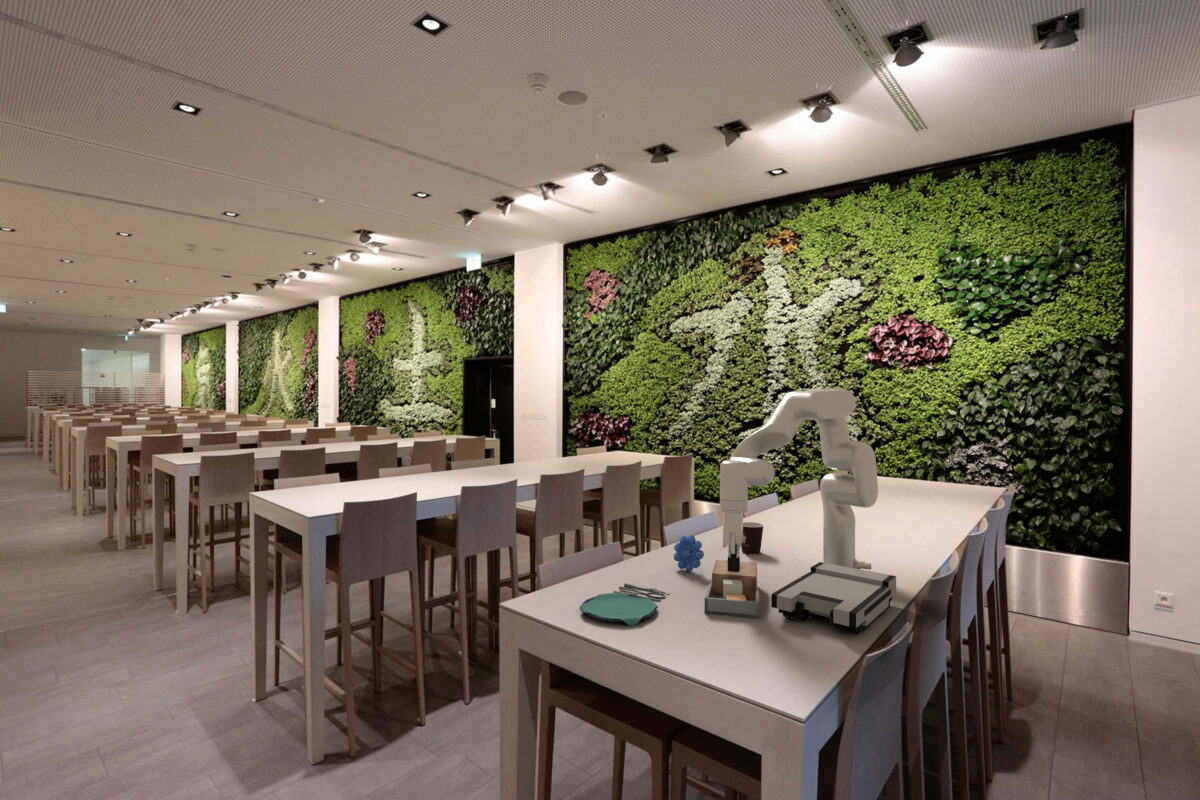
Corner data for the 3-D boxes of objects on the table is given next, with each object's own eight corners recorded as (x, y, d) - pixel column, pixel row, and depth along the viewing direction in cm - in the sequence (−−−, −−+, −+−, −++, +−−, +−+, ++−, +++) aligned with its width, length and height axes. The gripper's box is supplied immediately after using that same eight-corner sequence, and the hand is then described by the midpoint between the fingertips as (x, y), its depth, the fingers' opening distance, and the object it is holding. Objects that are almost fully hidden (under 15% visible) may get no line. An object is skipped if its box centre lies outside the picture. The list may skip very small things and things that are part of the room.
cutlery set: (566, 618, 156) (566, 609, 156) (620, 586, 182) (620, 579, 182) (636, 633, 146) (636, 624, 146) (682, 598, 172) (682, 590, 172)
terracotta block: (746, 601, 158) (746, 610, 158) (744, 594, 163) (744, 604, 163) (726, 600, 158) (726, 609, 158) (725, 593, 163) (725, 603, 163)
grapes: (711, 572, 194) (711, 535, 193) (698, 577, 189) (698, 538, 189) (682, 565, 202) (682, 529, 202) (669, 569, 197) (669, 532, 197)
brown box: (757, 586, 180) (757, 562, 180) (756, 601, 167) (756, 576, 166) (716, 582, 183) (716, 559, 183) (711, 598, 170) (711, 573, 170)
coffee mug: (766, 555, 214) (766, 527, 213) (741, 555, 214) (741, 527, 213) (758, 547, 225) (758, 520, 225) (734, 547, 225) (734, 520, 225)
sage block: (741, 580, 167) (742, 584, 163) (741, 598, 167) (742, 603, 163) (723, 579, 168) (723, 583, 164) (723, 597, 168) (723, 602, 164)
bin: (759, 602, 166) (759, 587, 166) (758, 618, 154) (758, 602, 154) (709, 597, 170) (709, 583, 170) (704, 613, 158) (704, 598, 158)
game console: (771, 621, 153) (771, 589, 153) (819, 589, 178) (819, 562, 177) (856, 643, 140) (856, 608, 140) (896, 606, 164) (896, 576, 164)
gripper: (722, 499, 176) (722, 562, 176) (717, 509, 162) (717, 578, 162) (748, 501, 174) (748, 564, 174) (746, 511, 160) (746, 580, 160)
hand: (733, 571), depth 168 cm, fingers closed
